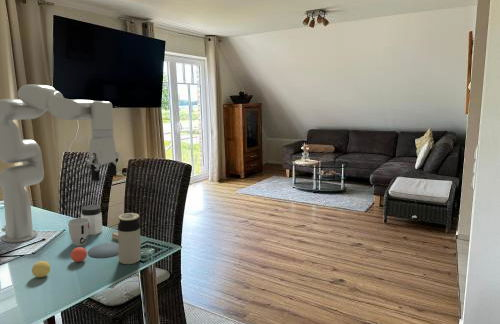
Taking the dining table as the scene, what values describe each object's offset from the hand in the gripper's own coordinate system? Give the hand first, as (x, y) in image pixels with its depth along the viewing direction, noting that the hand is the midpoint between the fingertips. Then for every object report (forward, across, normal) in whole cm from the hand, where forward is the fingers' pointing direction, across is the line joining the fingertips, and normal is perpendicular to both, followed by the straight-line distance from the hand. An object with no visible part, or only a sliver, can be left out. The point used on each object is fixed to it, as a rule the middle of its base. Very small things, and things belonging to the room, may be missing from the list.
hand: (104, 178), depth 134 cm
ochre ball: (+28, +23, -9) cm, 38 cm away
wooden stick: (+31, -12, +1) cm, 33 cm away
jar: (+31, -16, -21) cm, 41 cm away
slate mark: (+31, -2, -2) cm, 31 cm away
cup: (+31, -4, -17) cm, 36 cm away
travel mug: (+31, +2, +12) cm, 34 cm away
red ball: (+28, +10, -5) cm, 30 cm away
